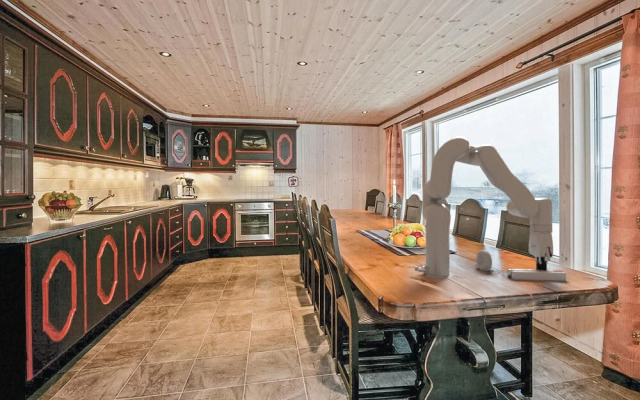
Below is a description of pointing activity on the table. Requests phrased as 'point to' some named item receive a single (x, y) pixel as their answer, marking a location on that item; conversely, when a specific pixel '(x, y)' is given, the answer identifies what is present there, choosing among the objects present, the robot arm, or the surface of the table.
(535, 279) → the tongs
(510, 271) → the arm
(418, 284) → the table surface
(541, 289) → the table surface
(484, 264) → the grey rounded slab
